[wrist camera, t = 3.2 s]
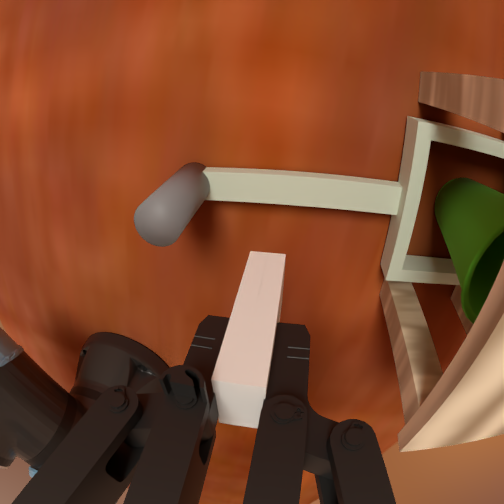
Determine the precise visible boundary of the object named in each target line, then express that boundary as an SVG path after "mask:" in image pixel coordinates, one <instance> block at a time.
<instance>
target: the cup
mask: <svg viewBox="0 0 504 504" xmlns="http://www.w3.org/2000/svg"><path fill="white" fill-rule="evenodd" d="M435 216H436V220H437V222H438V225H439V227H440V230H441V232H442V235H443V237H444V240H445V243H446V245H447V248H448V251H449V253H450V256H451V259H452V262H453V265H454V268H455V271H456V274H457V277H458V280H459V283H460V286H461V289H462V290H461V304H462V309H463V311H464V313H465V316H466V317H467V318H468V319H469V320H470V321H471V322H472V323H473V324H474V322H475V321H476V319H477V317H478V315H479V313H480V311H481V309H482V307H483V305H484V303H485V301H486V299H487V297H488V295H489V293H490V291H491V289H492V287H493V284H494V282H495V280H496V278H497V275H498V273H499V271H500V268H501V266H502V264H503V261H504V194H502V193H500V192H498V191H496V190H494V189H492V188H490V187H487V186H485V185H483V184H481V183H478V182H476V181H474V180H471V179H468V178H456V179H453V180H451V181H449V182H447V183H446V184H445V185H444V186H443V187H442V188H441V190H440V191H439V193H438V195H437V197H436V201H435Z"/></svg>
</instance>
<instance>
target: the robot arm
mask: <svg viewBox="0 0 504 504" xmlns="http://www.w3.org/2000/svg"><path fill="white" fill-rule="evenodd" d="M285 257H286V254H277V253H265V252H254V251H250V254H249V258H248V261H247V264H246V267H245V271H244V274H243V277H242V281H241V284H240V287H239V290H238V294H237V297H236V300H235V303H234V307H233V310H232V313H231V317H230V318H226V317H218V316H211V315H208V316H207V317H206V318H205V319H204V320H203V321H202V322H201V323H200V324H199V326H198V329H197V331H196V334H195V337H194V339H193V341H192V344H191V346H190V349H189V351H188V354H187V356H186V359H185V362H184V364H183V365H178V366H174V367H170V368H169V367H168V366H167V365H166V364H165V363H164V362H163V360H161V359H160V358H159V357H158V356H157V355H156V354H154V353H153V352H152V351H150V350H149V349H148V348H146V347H144V346H143V345H141V344H139V343H137V342H135V341H133V340H131V339H129V338H126V337H124V336H121V335H118V334H113V333H107V332H100V333H95V334H93V335H91V336H90V337H89V338H88V340H87V341H86V343H85V344H84V346H83V347H82V350H81V353H80V358H79V362H78V367H77V373H76V378H75V383H74V386H73V388H72V389H71V391H70V393H68V392H67V391H66V390H65V389H63V388H62V387H61V386H60V385H59V384H58V383H57V382H56V381H54V380H53V379H52V378H51V377H50V376H49V375H48V374H47V373H46V372H45V371H44V370H43V369H42V368H41V367H40V366H39V365H37V364H36V363H35V362H34V361H33V360H32V359H31V358H30V357H29V356H28V355H27V353H26V352H25V351H24V349H23V348H22V347H21V346H20V345H17V344H16V343H15V342H14V341H13V340H12V339H11V338H10V337H9V336H8V334H7V333H6V332H5V331H4V330H2V329H1V328H0V468H4V469H5V468H8V467H9V466H10V465H11V463H12V462H13V460H14V459H15V457H17V456H18V457H19V458H21V459H22V460H24V461H25V462H27V463H28V464H30V465H31V466H30V467H29V475H30V476H31V477H32V479H31V480H30V481H29V483H28V484H27V485H26V486H25V488H24V489H23V490H22V491H21V493H20V494H19V495H18V496H17V498H16V499H15V500H14V501H13V503H12V504H116V503H117V501H118V499H119V498H120V496H121V495H122V494H123V492H124V491H125V489H126V488H127V487H128V485H129V484H130V482H131V484H130V487H129V489H128V492H127V495H126V498H125V501H124V503H123V504H198V503H199V499H200V496H201V492H202V488H203V484H204V481H205V477H206V473H207V469H208V465H209V461H210V458H211V454H212V450H213V446H214V442H215V438H216V431H215V427H216V423H217V420H218V419H219V423H225V424H231V425H237V426H244V427H251V428H258V429H257V435H256V440H255V445H254V450H253V456H252V461H251V466H250V471H249V476H248V481H247V486H246V491H245V496H244V501H243V504H299V499H300V490H301V482H302V473H303V470H305V471H308V472H311V473H313V474H315V478H316V483H317V489H318V494H319V499H320V504H396V502H395V498H394V495H393V492H392V488H391V484H390V481H389V477H388V474H387V470H386V467H385V464H384V460H383V458H382V454H381V451H380V447H379V444H378V441H377V438H376V435H375V433H374V431H373V429H372V427H371V426H369V425H368V424H367V423H366V422H364V421H360V420H357V419H348V420H345V421H342V422H340V423H339V422H336V421H333V420H330V419H327V418H325V417H322V416H320V415H319V414H317V413H316V412H315V411H314V410H313V409H312V408H311V406H310V404H309V402H308V397H307V391H308V374H309V354H310V335H309V333H308V331H307V328H306V326H305V325H299V324H288V323H279V321H280V314H281V306H282V296H283V284H284V271H285Z"/></svg>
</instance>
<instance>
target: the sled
mask: <svg viewBox="0 0 504 504" xmlns="http://www.w3.org/2000/svg"><path fill="white" fill-rule="evenodd" d="M431 140H432V141H437V142H442V143H446V144H451V145H455V146H459V147H463V148H467V149H471V150H475V151H479V152H482V153H486V154H490V155H493V156H497V157H500V158H503V159H504V141H502V140H499V139H496V138H493V137H490V136H487V135H483V134H480V133H476V132H473V131H469V130H466V129H462V128H458V127H454V126H450V125H446V124H442V123H438V122H434V121H429V120H425V119H420V118H415V117H410V116H407V125H406V133H405V141H404V148H403V155H402V161H401V168H400V174H399V180H398V182H393V181H386V180H378V179H370V178H362V177H353V176H343V175H333V174H322V173H311V172H298V171H284V170H267V169H246V168H216V167H206V166H204V165H202V164H200V163H188V164H186V165H184V166H183V167H182V168H181V169H179V170H178V171H177V172H176V173H175V174H174V175H173V176H171V177H170V178H169V179H168V180H167V181H166V182H165V183H163V184H162V185H161V186H160V187H159V188H158V189H157V190H156V191H155V192H154V193H152V194H151V195H150V196H149V197H148V198H147V199H146V200H145V201H144V202H143V203H142V204H141V205H140V206H139V207H138V208H137V209H136V211H135V215H134V223H135V227H136V229H137V231H138V233H139V234H140V236H141V237H142V238H143V239H144V240H146V241H147V242H148V243H150V244H152V245H155V246H168V245H171V244H173V243H174V242H175V241H176V240H177V239H178V237H179V236H180V234H181V233H182V231H183V230H184V229H185V227H186V226H187V224H188V223H189V221H190V220H191V219H192V217H193V216H194V214H195V213H196V211H197V210H198V209H199V207H200V206H201V204H202V203H203V202H204V200H217V201H236V202H253V203H269V204H283V205H296V206H309V207H321V208H332V209H343V210H353V211H363V212H373V213H382V214H391V215H392V216H391V221H390V225H389V230H388V234H387V239H386V243H385V247H384V251H383V255H382V259H381V263H380V265H381V268H382V271H383V274H384V277H385V280H387V281H402V282H417V283H433V284H449V285H460V283H459V280H458V277H457V274H456V271H455V268H454V265H453V262H452V259H446V258H435V257H424V256H413V255H406V254H407V250H408V247H409V243H410V239H411V235H412V232H413V228H414V224H415V220H416V215H417V211H418V207H419V203H420V198H421V193H422V189H423V184H424V179H425V173H426V168H427V162H428V157H429V150H430V144H431Z"/></svg>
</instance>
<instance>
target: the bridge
mask: <svg viewBox="0 0 504 504" xmlns="http://www.w3.org/2000/svg"><path fill="white" fill-rule="evenodd" d="M418 102H421V103H424V104H427V105H430V106H434V107H437V108H440V109H443V110H446V111H449V112H452V113H455V114H457V115H460V116H463V117H466V118H468V119H471V120H474V121H476V122H479V123H481V124H484V125H486V126H489V127H491V128H493V129H496V130H498V131H500V132H503V133H504V79H498V78H491V77H483V76H475V75H465V74H454V73H439V72H420V87H419V99H418ZM461 290H462V289H461V286H460V285H456V286H455V289H454V291H453V293H452V296H451V298H450V299H451V301H452V303H453V305H454V307H455V309H456V311H457V314H458V316H459V318H460V320H461V322H462V325H463V327H464V329H465V332H466V334H467V337H466V339H465V340H464V342H463V344H462V345H461V347H460V349H459V350H458V352H457V354H456V355H455V357H454V358H453V360H452V362H451V363H450V365H449V366H448V368H447V369H446V371H445V372H444V374H443V372H442V369H441V366H440V362H439V359H438V356H437V353H436V349H435V346H434V343H433V340H432V337H431V334H430V331H429V328H428V325H427V323H426V320H425V317H424V314H423V311H422V309H421V306H420V303H419V301H418V298H417V295H416V293H415V290H414V288H413V285H412V283H411V282H402V281H387V280H385V278H384V281H383V284H382V288H381V291H380V294H379V295H380V299H381V303H382V307H383V311H384V315H385V319H386V323H387V328H388V332H389V337H390V341H391V346H392V351H393V355H394V360H395V366H396V371H397V376H398V382H399V387H400V393H401V399H402V406H403V412H404V419H405V426H404V428H403V429H402V430H401V431H400V432H399V433H398V442H399V451H400V452H404V451H414V450H422V449H430V448H437V447H444V446H450V445H455V444H461V443H466V442H471V441H476V440H480V439H485V438H489V437H493V436H497V435H501V434H504V261H503V264H502V266H501V268H500V271H499V273H498V275H497V278H496V280H495V282H494V284H493V287H492V289H491V291H490V293H489V295H488V297H487V299H486V301H485V303H484V305H483V307H482V309H481V311H480V313H479V315H478V317H477V319H476V321H475V322H474V324H473V323H472V322H471V321H470V320H469V319H468V318H467V317H466V316H465V313H464V311H463V309H462V304H461Z"/></svg>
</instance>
